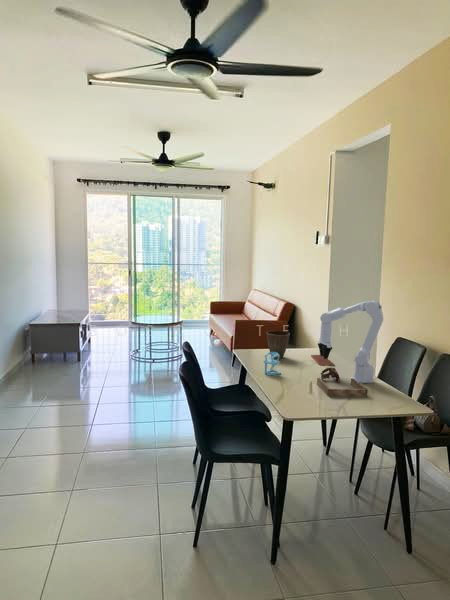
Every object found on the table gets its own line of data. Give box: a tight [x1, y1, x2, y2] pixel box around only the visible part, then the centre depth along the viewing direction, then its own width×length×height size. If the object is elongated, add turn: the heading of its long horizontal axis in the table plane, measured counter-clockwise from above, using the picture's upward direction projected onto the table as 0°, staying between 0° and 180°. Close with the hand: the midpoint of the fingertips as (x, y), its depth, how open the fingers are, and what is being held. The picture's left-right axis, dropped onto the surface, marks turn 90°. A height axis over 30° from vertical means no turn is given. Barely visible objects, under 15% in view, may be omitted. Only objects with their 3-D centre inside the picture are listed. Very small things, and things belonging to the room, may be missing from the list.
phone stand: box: [263, 351, 282, 376], centre depth 225 cm, size 8×8×12 cm
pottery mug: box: [320, 367, 341, 384], centre depth 217 cm, size 12×10×8 cm
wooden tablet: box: [310, 354, 336, 367], centre depth 258 cm, size 27×10×2 cm, turn 2°
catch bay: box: [316, 377, 369, 398], centre depth 202 cm, size 19×17×4 cm
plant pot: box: [266, 330, 291, 359], centre depth 260 cm, size 15×15×16 cm
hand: (323, 357), depth 228 cm, fingers open, 5 cm apart
